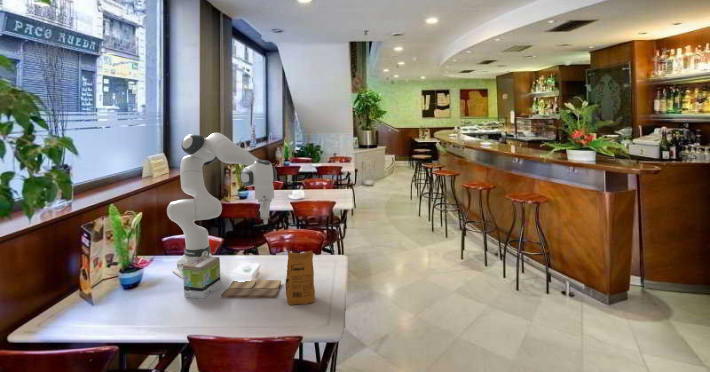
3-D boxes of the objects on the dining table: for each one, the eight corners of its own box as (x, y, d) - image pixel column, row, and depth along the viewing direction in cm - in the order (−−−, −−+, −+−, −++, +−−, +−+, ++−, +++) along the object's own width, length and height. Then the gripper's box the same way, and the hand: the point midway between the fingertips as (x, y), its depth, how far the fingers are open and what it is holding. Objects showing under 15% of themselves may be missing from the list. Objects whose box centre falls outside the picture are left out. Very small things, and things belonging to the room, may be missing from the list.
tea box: (204, 299, 185) (202, 267, 183) (183, 297, 187) (181, 265, 185) (221, 286, 199) (219, 256, 197) (202, 284, 201) (200, 254, 199)
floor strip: (221, 297, 186) (220, 295, 186) (226, 291, 193) (226, 288, 193) (274, 297, 185) (274, 295, 185) (278, 291, 192) (278, 289, 192)
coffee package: (285, 297, 186) (284, 249, 183) (313, 294, 189) (312, 247, 185) (286, 306, 177) (284, 256, 173) (315, 304, 179) (314, 254, 175)
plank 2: (253, 290, 194) (253, 288, 193) (258, 282, 201) (258, 280, 201) (277, 290, 193) (277, 288, 193) (281, 282, 201) (280, 280, 201)
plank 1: (228, 290, 194) (227, 288, 194) (233, 282, 202) (233, 280, 202) (251, 290, 194) (251, 288, 193) (256, 282, 201) (255, 280, 201)
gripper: (271, 198, 188) (272, 228, 190) (271, 190, 208) (272, 218, 210) (256, 199, 187) (258, 229, 189) (258, 191, 207) (259, 218, 209)
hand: (265, 223), depth 200 cm, fingers closed
